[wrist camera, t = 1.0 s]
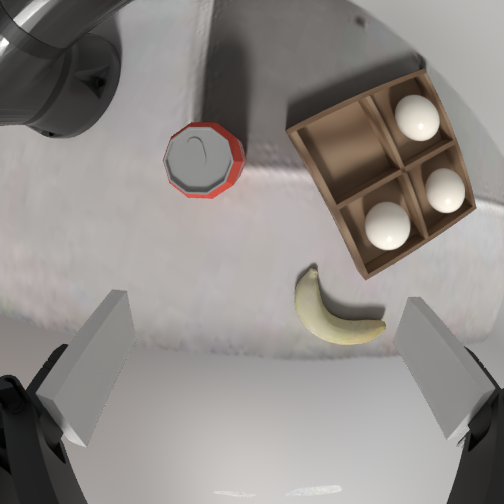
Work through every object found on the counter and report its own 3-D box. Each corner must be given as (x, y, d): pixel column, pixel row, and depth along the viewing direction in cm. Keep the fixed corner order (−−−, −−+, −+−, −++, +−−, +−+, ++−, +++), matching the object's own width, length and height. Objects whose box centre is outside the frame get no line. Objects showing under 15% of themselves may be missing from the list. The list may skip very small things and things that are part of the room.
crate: (285, 131, 29) (288, 128, 27) (412, 73, 26) (424, 68, 23) (357, 270, 35) (365, 280, 32) (464, 203, 31) (476, 208, 29)
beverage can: (237, 125, 29) (226, 107, 18) (251, 177, 31) (249, 191, 20) (186, 140, 30) (149, 133, 18) (200, 191, 32) (171, 212, 21)
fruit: (350, 350, 40) (356, 363, 37) (276, 304, 37) (278, 317, 34) (382, 317, 38) (391, 330, 35) (311, 264, 35) (316, 274, 32)
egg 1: (350, 211, 32) (368, 222, 27) (387, 190, 31) (409, 197, 26) (367, 249, 33) (385, 266, 28) (402, 228, 32) (424, 242, 27)
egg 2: (379, 106, 27) (401, 100, 22) (411, 92, 26) (435, 85, 21) (399, 147, 29) (423, 148, 24) (429, 132, 28) (455, 131, 23)
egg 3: (411, 176, 30) (435, 182, 25) (440, 159, 29) (466, 163, 24) (424, 214, 32) (448, 225, 26) (452, 196, 31) (477, 205, 25)
